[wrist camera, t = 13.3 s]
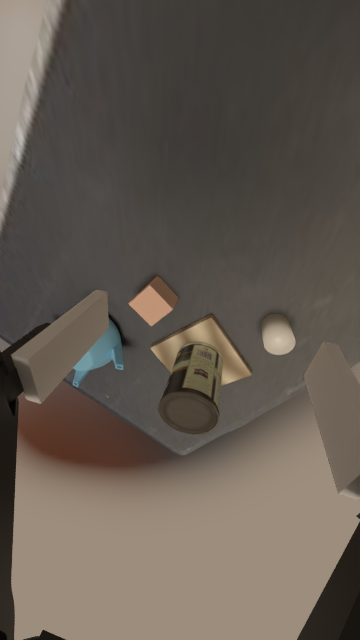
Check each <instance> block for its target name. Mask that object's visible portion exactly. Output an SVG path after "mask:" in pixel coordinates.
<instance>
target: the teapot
mask: <svg viewBox="0 0 360 640" xmlns="http://www.w3.org/2000/svg"><path fill="white" fill-rule="evenodd" d="M112 359H113V360H114V363H115V366H116V367H115V368H116V369H121V370H123V365H124V364H123V353H122V342H121V337H120V334H119V331H118V329H117V327H116V326H115V324H114V323H113V322H112V321H111V320H110V319H109V328H108V329H107V330H106V331H105V333H104V334H103V335H102V336H101V337H100V338H99V339H98V340H97V342H96V343H95V344H94V345H93V346H92V347H91V348H90V349H89V351H88V352H87V353H86V354H85V355H84V356H83V357H82V358H81V359H80V361H79V362H78V363H77V364H76V365H75V366H74V367H73V368H72V369H74V370H76V373H75V377H74V380H73V385H74V386H76V387H78V386H79V385H80V383H81V382H82V380H83V379H84V378H85V376H86V375H87V374H88V372H89V371H90V370H92V369H95V368H99V367H101V366H104V365H105V364H107V363H109V362H110V361H111V360H112Z"/></svg>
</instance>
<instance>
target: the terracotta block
mask: <svg viewBox="0 0 360 640" xmlns="http://www.w3.org/2000/svg"><path fill="white" fill-rule="evenodd" d="M178 299H179V298H178V297H177V296H176V295H175V293H174V292H173V291H172V290H171V289H170V288H169V287H168V286H167V285H166V284H165V283H164V282H163V281H162V279H161V278H160V277H159V276H157V277H156V278H154V279H153V280H152V281H151V282H150V283H149V284H148V285H147V286H146V287H144V288H143V289H142V290H141V291H140V292H139V293H138V294H137V295H136V296H135V297H134V298H133V299H132V301H131V302H130V303H129V305H130V306H131V307H132V308H133V309H134V310H135V311H136V312H137V313H138V314H139V315H140V316H141V317H142V318H143V319H144V320H145V321H146V322H147V323H148V324H149V325H150V326H152V325H154V324H155V323H156V322H157V321H159V320H160V319H161V318H163V317H164V316H165V315H167V314H168V313H169V312H170V311H172V310H173V309H174V307H175V305H176V303H177V301H178Z"/></svg>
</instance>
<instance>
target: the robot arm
mask: <svg viewBox="0 0 360 640" xmlns="http://www.w3.org/2000/svg"><path fill="white" fill-rule="evenodd" d="M108 328H109V317H108V294H107V292H105V291H101V290H95V291H94V292H92V293H91V294H90V295H88V296H87V297H86V298H85V299H83V300H82V301H81V302H79V303H78V304H77V305H75V306H74V307H73V308H72V309H70V310H69V311H68V312H66V313H65V314H64V315H62V316H61V317H60V318H58V319H57V320H56V321H55V322H53V323H52V324H50V323H45V324H43V325H40V326H38V327H36V328H34V329H33V330H32V331H30V332H29V334H26V335H25V336H23V337H22V339H19V340H18V341H17V342H15V343H14V344H12V345H11V346H10V347H8V348H7V349H6V350H4V351H3V352H2V353H1V352H0V640H14V622H15V621H14V619H15V617H14V616H15V614H14V600H13V595H12V589H11V568H12V544H13V522H14V498H15V475H16V474H15V472H16V451H17V450H16V449H17V427H18V426H17V425H18V404H19V401H18V398H17V397H18V396H19V395H20V394H21V393H22V392H23V391H24V394H25V397H26V399H27V400H30V401H33V402H36V403H40V404H41V403H42V402H43V401H44V400H45V399H46V398H47V396H48V395H49V394H50V393H51V392H52V391H53V390H54V389H55V387H56V386H57V385H58V384H59V383H60V382H61V381H62V380H63V379H64V377H65V376H66V375H67V374H68V373H69V372H70V371H71V370H72V368H73V367H74V366H75V365H76V364H77V363H78V362H79V361H80V359H81V358H82V357H83V356H84V355H85V354H86V353H87V352H88V351H89V349H90V348H91V347H92V346H93V345H94V344H95V343H96V342H97V340H98V339H99V338H100V337H101V336H102V335H103V334H104V333H105V331H106V330H107V329H108ZM304 379H305V382H306V386H307V389H308V393H309V396H310V399H311V403H312V406H313V410H314V413H315V416H316V420H317V423H318V427H319V430H320V433H321V437H322V440H323V443H324V447H325V450H326V453H327V457H328V461H329V464H330V467H331V471H332V474H333V478H334V481H335V484H336V487H337V491H338V494H340V495H344V496H347V497H350V498H353V499H357V500H360V384H359V383H358V381H357V379H356V377H355V375H354V373H353V372H352V370H351V368H350V366H349V364H348V363H347V361H346V359H345V357H344V355H343V353H342V352H341V350H340V348H339V346H338V345H337V344H333V343H328V342H324V341H323V343H322V345H321V346H320V348H319V350H318V352H317V353H316V355H315V357H314V359H313V360H312V362H311V364H310V366H309V367H308V369H307V371H306V373H305V374H304ZM357 517H358V518H359V519H360V513H359V514H358V515H357ZM24 640H65V639H63V638H61V637H58V636H56V635H54V634H51V633H49V632H47V631H45V630H43V631H42V633H41V635H40V636H35V637H31V638H27V639H24ZM297 640H360V522H359V524H358V526H357V528H356V530H355V532H354V534H353V535H352V537H351V539H350V541H349V543H348V545H347V547H346V549H345V550H344V552H343V554H342V556H341V558H340V560H339V562H338V564H337V565H336V568H335V569H334V571H333V573H332V575H331V577H330V579H329V580H328V582H327V584H326V586H325V588H324V590H323V592H322V594H321V595H320V597H319V599H318V601H317V603H316V605H315V607H314V609H313V611H312V612H311V614H310V616H309V618H308V620H307V622H306V624H305V626H304V627H303V629H302V631H301V633H300V635H299V637H298V639H297Z"/></svg>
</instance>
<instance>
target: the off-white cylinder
mask: <svg viewBox="0 0 360 640" xmlns="http://www.w3.org/2000/svg"><path fill="white" fill-rule="evenodd" d="M261 330H262V336H263V343H264V347H265V349H266V350H267V351H268V352H269V353H271V354H275V355H283V354H286V353H288V352H290V351H291V350H292V349H293V348H294V346H295V338H294V335H293V333H292V330H291V327H290V324H289V321H288V319H287V318H286V317H285V316H284V315H281V314H270V315H268V316H266V317H265V318H264V319H263V320H262V322H261Z"/></svg>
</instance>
